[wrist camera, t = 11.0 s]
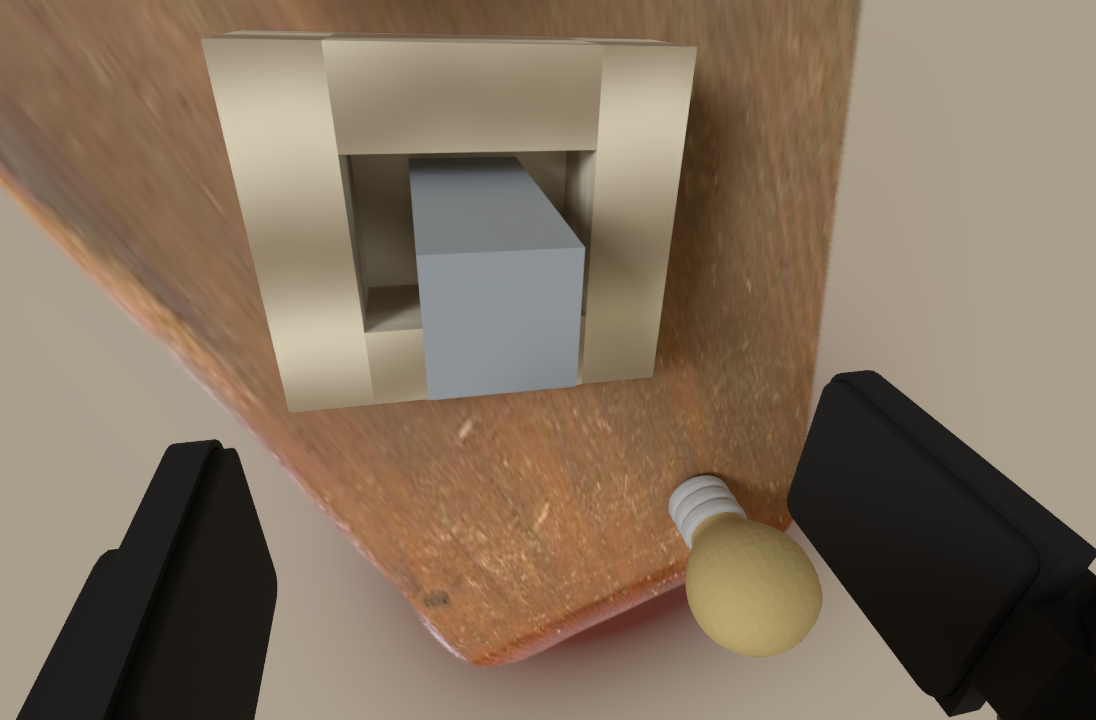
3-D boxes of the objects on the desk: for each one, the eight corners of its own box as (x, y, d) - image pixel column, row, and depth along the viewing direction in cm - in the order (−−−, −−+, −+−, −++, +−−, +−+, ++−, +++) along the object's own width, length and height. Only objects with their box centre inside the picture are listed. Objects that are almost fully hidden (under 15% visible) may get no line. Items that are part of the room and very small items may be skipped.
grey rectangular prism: (408, 158, 22) (415, 255, 14) (515, 156, 23) (585, 247, 14) (417, 261, 24) (428, 400, 16) (515, 256, 25) (576, 386, 16)
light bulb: (623, 517, 36) (692, 675, 27) (684, 437, 34) (780, 583, 25) (701, 540, 38) (787, 691, 30) (763, 467, 36) (874, 608, 28)
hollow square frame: (241, 30, 20) (200, 38, 16) (641, 38, 23) (697, 46, 18) (306, 346, 26) (289, 412, 22) (615, 322, 29) (652, 377, 25)
